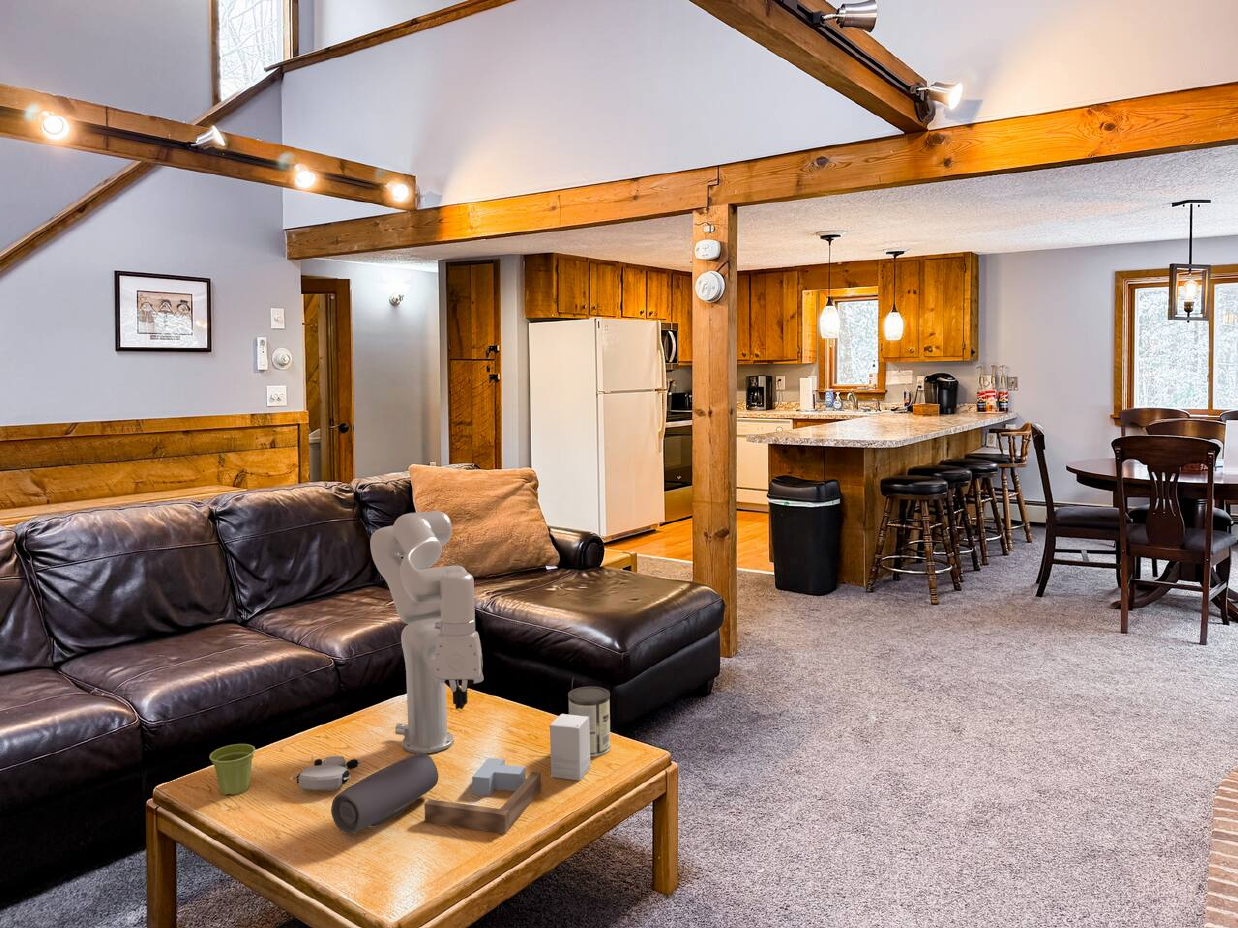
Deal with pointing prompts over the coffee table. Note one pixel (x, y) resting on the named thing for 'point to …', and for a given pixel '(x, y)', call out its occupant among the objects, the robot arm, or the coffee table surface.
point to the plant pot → (233, 767)
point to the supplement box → (570, 747)
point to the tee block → (497, 777)
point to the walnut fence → (485, 810)
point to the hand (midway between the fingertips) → (460, 706)
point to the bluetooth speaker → (384, 793)
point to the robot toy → (326, 773)
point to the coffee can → (593, 715)
